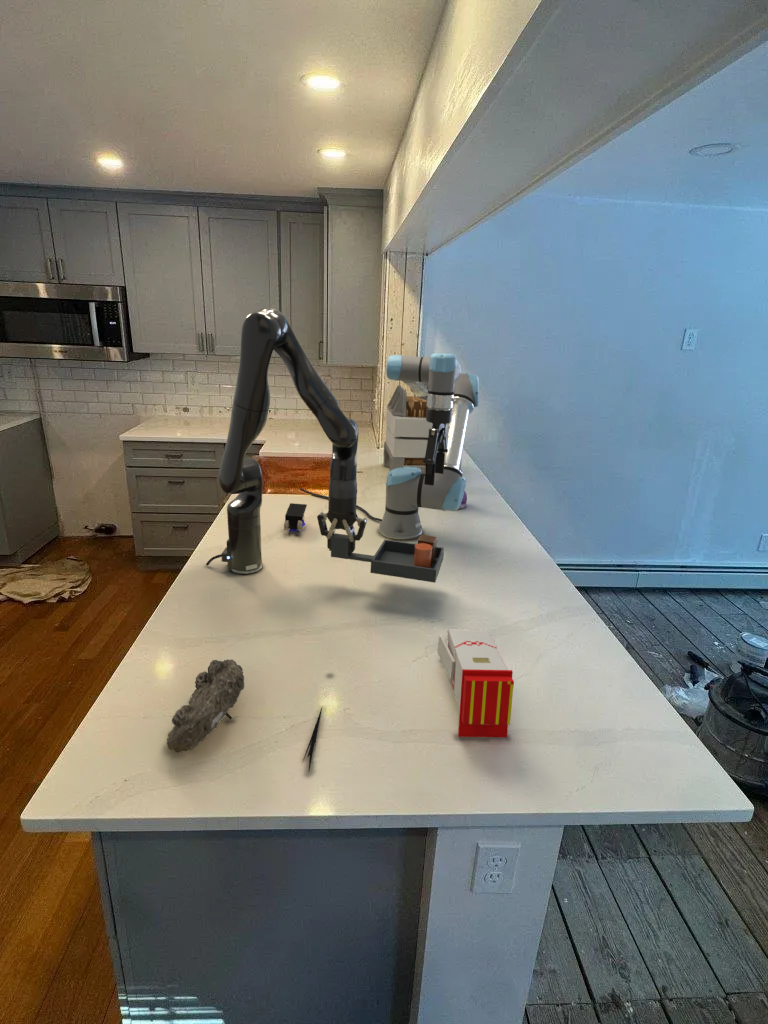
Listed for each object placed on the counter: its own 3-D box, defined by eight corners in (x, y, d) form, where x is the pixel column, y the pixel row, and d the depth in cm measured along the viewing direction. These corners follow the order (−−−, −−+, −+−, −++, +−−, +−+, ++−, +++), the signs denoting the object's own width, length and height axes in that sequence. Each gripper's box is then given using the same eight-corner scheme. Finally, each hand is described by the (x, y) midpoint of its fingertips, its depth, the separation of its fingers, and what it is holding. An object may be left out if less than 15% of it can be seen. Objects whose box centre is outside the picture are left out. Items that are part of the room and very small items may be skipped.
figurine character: (303, 540, 193) (307, 520, 207) (302, 521, 190) (307, 502, 203) (283, 540, 193) (289, 520, 207) (282, 520, 190) (288, 501, 203)
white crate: (382, 463, 289) (386, 382, 275) (445, 464, 293) (451, 384, 279) (390, 482, 257) (394, 392, 243) (460, 483, 261) (468, 394, 247)
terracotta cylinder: (409, 569, 150) (411, 545, 148) (421, 565, 153) (423, 541, 151) (421, 576, 147) (423, 551, 145) (433, 571, 150) (436, 547, 148)
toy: (488, 613, 130) (523, 677, 101) (484, 667, 133) (517, 744, 104) (435, 612, 130) (455, 676, 101) (432, 666, 133) (451, 743, 103)
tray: (323, 565, 152) (323, 545, 150) (340, 544, 166) (341, 525, 164) (435, 582, 145) (437, 561, 143) (443, 559, 159) (445, 539, 157)
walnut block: (415, 563, 154) (417, 539, 152) (419, 557, 158) (421, 534, 156) (431, 566, 153) (433, 542, 151) (435, 560, 157) (437, 536, 155)
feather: (331, 679, 122) (336, 673, 122) (307, 777, 96) (313, 769, 95) (324, 675, 122) (329, 669, 121) (298, 772, 95) (304, 764, 95)
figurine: (453, 511, 224) (457, 474, 219) (439, 503, 233) (442, 468, 228) (473, 508, 228) (476, 472, 223) (458, 500, 237) (462, 466, 232)
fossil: (192, 660, 117) (244, 628, 112) (224, 691, 120) (276, 661, 115) (142, 746, 98) (202, 712, 93) (182, 779, 101) (242, 748, 96)
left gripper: (312, 494, 150) (312, 553, 156) (364, 500, 147) (362, 560, 153) (322, 486, 157) (321, 542, 163) (372, 492, 154) (369, 549, 160)
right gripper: (443, 416, 152) (437, 491, 160) (460, 403, 175) (454, 470, 182) (416, 414, 154) (411, 488, 162) (436, 401, 177) (431, 467, 184)
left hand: (341, 551), depth 158 cm, fingers closed on tray, 5 cm apart
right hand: (434, 478), depth 172 cm, fingers open, 13 cm apart
